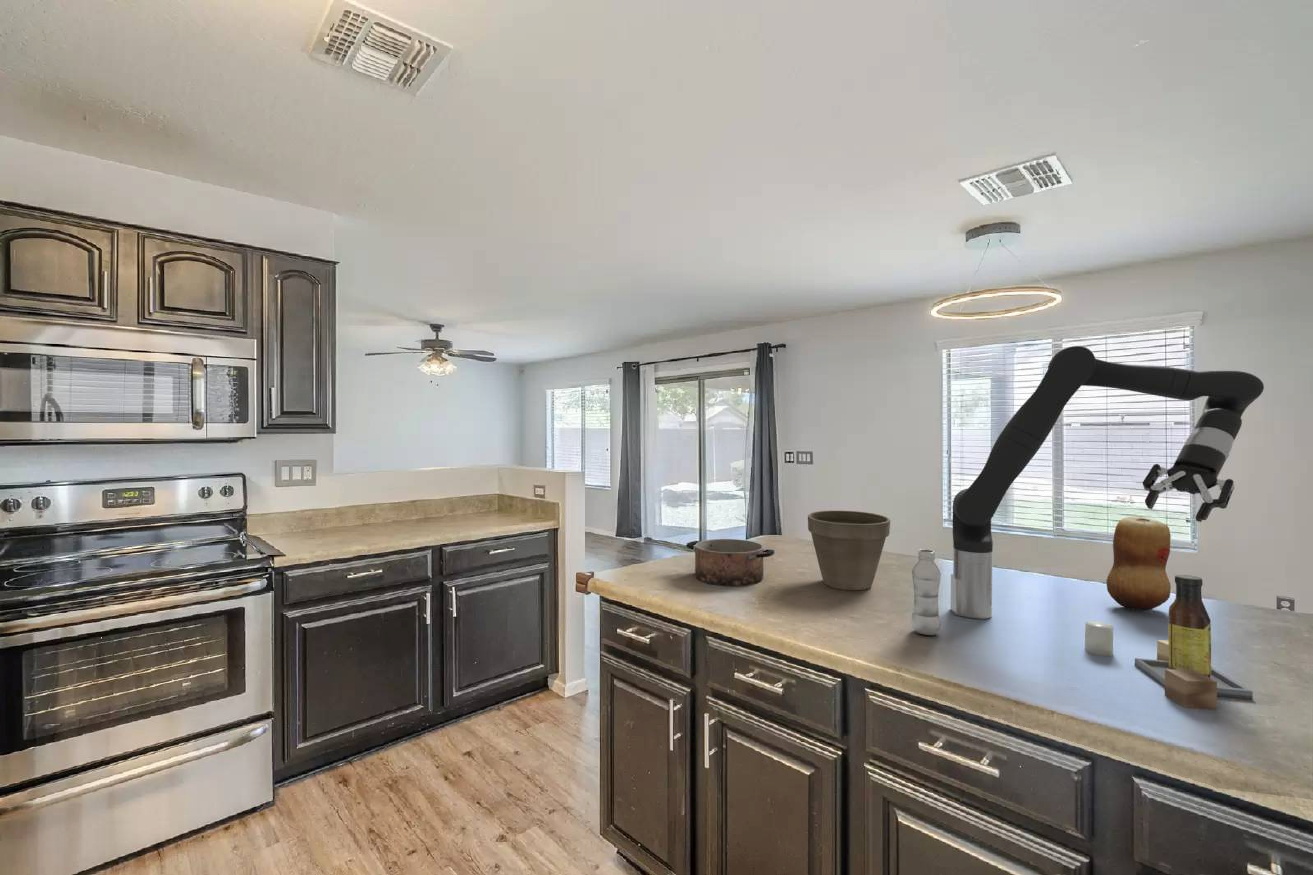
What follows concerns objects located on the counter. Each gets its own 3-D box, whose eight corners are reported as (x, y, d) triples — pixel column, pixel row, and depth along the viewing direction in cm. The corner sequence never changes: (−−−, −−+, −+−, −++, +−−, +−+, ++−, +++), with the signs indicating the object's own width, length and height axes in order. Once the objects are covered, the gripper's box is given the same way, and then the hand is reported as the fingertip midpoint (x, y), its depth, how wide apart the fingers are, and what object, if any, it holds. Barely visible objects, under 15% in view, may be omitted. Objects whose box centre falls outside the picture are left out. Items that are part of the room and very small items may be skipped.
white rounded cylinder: (1091, 655, 129) (1091, 627, 129) (1080, 646, 134) (1081, 620, 133) (1117, 657, 127) (1118, 629, 127) (1106, 648, 132) (1106, 622, 132)
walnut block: (1185, 708, 105) (1186, 680, 105) (1164, 695, 110) (1165, 669, 110) (1216, 709, 104) (1217, 681, 104) (1193, 696, 109) (1194, 670, 109)
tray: (1171, 691, 111) (1171, 684, 111) (1134, 665, 123) (1134, 658, 123) (1252, 699, 108) (1252, 691, 108) (1206, 671, 120) (1206, 664, 120)
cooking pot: (672, 579, 192) (672, 546, 192) (703, 565, 211) (703, 535, 211) (759, 592, 177) (759, 557, 176) (784, 576, 196) (784, 544, 195)
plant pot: (890, 599, 169) (891, 524, 169) (802, 591, 178) (803, 519, 177) (889, 578, 192) (889, 512, 192) (811, 571, 201) (812, 508, 201)
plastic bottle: (938, 630, 144) (939, 549, 144) (942, 640, 138) (943, 555, 137) (909, 627, 146) (910, 547, 146) (912, 636, 140) (913, 553, 139)
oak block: (1174, 669, 122) (1174, 647, 122) (1156, 661, 126) (1157, 640, 125) (1201, 668, 122) (1202, 646, 122) (1183, 660, 126) (1183, 639, 126)
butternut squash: (1151, 620, 151) (1153, 523, 151) (1095, 605, 164) (1096, 516, 163) (1181, 613, 157) (1183, 520, 156) (1125, 599, 169) (1126, 513, 169)
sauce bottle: (1219, 686, 112) (1221, 582, 112) (1181, 683, 113) (1183, 580, 113) (1195, 671, 118) (1197, 573, 118) (1159, 669, 120) (1161, 572, 119)
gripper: (1162, 436, 134) (1130, 495, 132) (1246, 451, 122) (1213, 516, 120) (1167, 453, 138) (1136, 511, 136) (1249, 469, 126) (1217, 532, 124)
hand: (1173, 513), depth 128 cm, fingers open, 8 cm apart
